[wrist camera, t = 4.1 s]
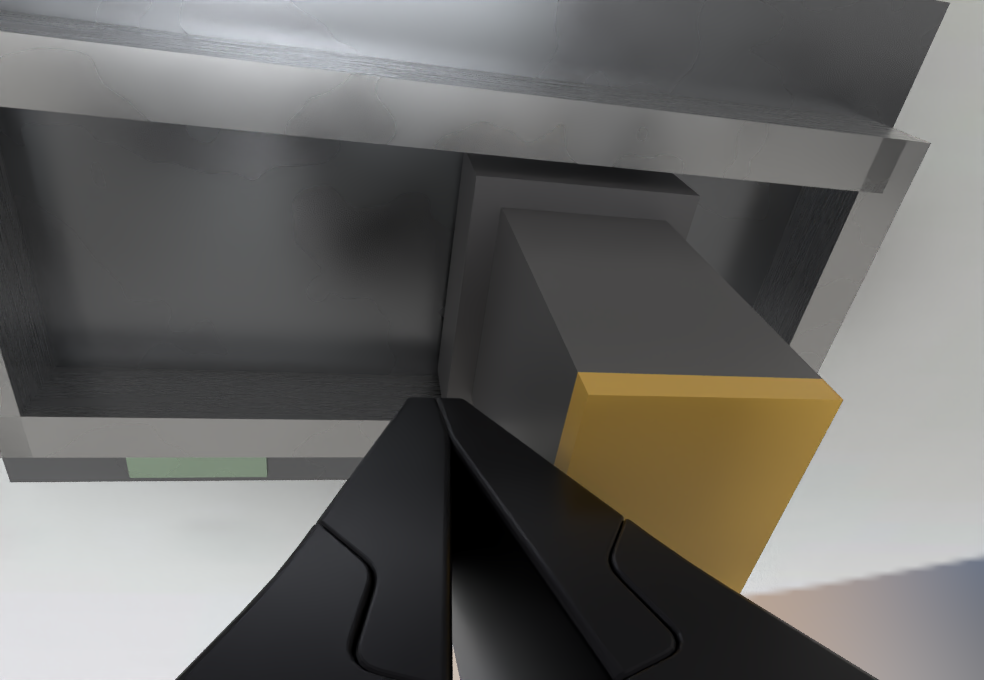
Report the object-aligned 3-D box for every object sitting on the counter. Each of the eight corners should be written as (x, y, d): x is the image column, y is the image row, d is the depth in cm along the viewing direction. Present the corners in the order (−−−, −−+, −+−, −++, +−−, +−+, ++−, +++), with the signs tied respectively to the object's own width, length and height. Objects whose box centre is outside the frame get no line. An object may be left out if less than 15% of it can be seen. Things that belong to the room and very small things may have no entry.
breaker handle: (665, 167, 13) (901, 364, 7) (605, 375, 15) (744, 640, 10) (464, 146, 12) (550, 352, 6) (437, 370, 14) (480, 658, 9)
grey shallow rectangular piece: (906, -4, 13) (1021, 13, 11) (714, 447, 19) (761, 520, 17) (-156, -189, 9) (-330, -225, 7) (33, 445, 16) (-26, 538, 13)
